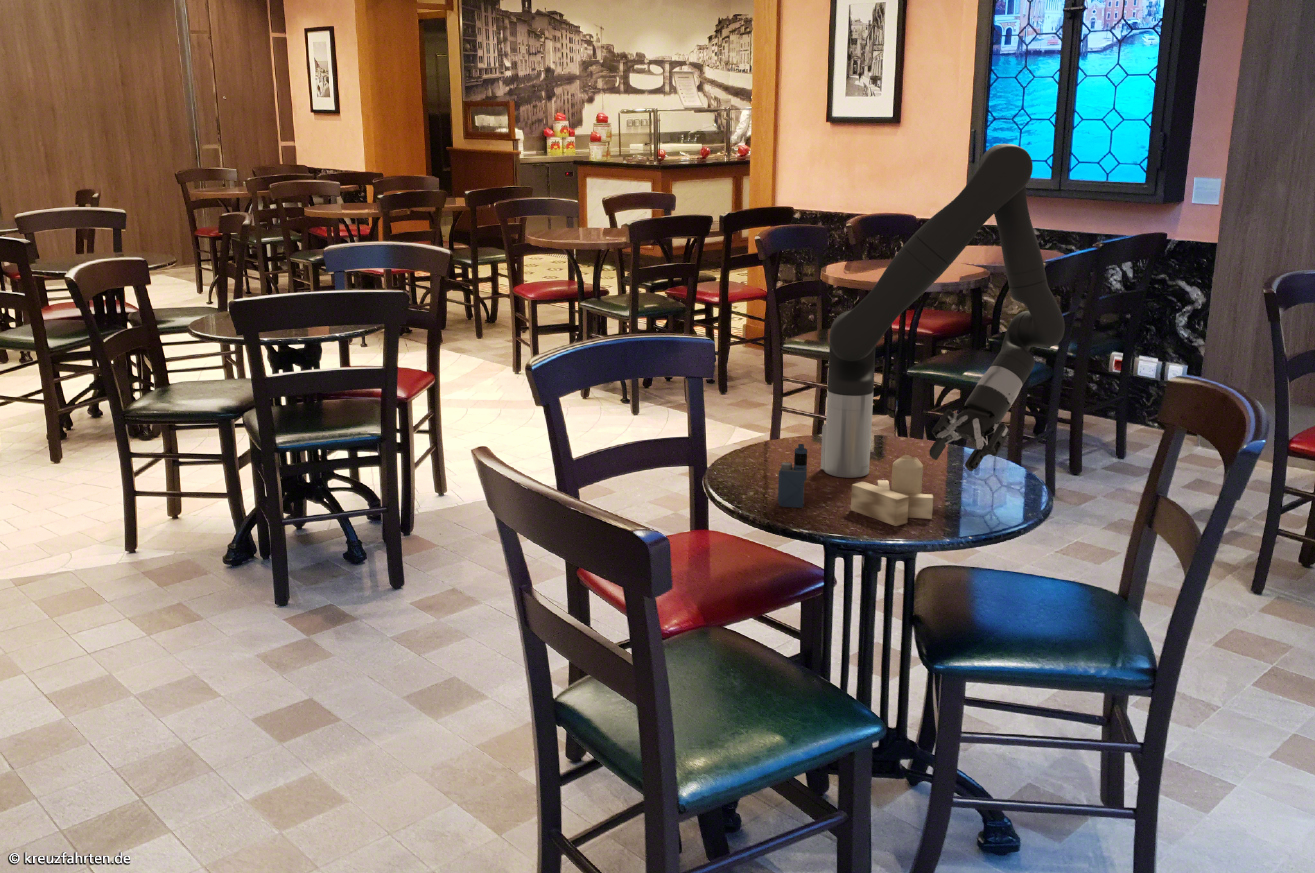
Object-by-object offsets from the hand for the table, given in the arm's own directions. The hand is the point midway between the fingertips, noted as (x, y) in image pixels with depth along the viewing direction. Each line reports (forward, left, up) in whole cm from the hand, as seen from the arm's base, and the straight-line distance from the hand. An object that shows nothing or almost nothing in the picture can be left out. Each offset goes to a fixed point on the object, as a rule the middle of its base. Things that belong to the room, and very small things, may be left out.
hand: (950, 462), depth 206 cm
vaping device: (-16, -26, -8) cm, 31 cm away
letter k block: (-2, -14, -8) cm, 16 cm away
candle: (-2, -10, -8) cm, 13 cm away
